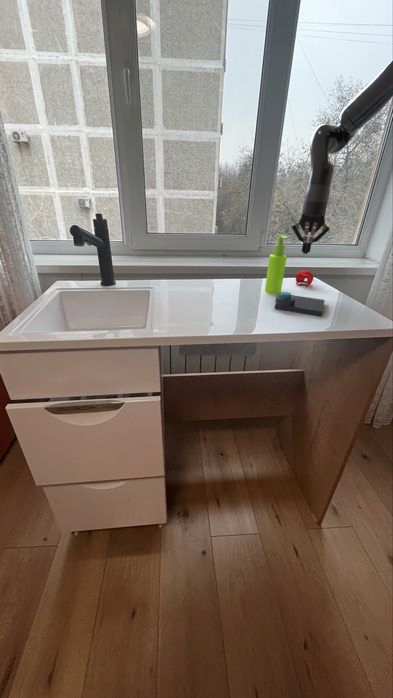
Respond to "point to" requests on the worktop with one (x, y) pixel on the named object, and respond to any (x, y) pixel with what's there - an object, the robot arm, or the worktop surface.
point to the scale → (300, 305)
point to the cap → (302, 275)
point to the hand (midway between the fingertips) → (305, 253)
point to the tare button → (286, 295)
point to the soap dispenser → (276, 267)
